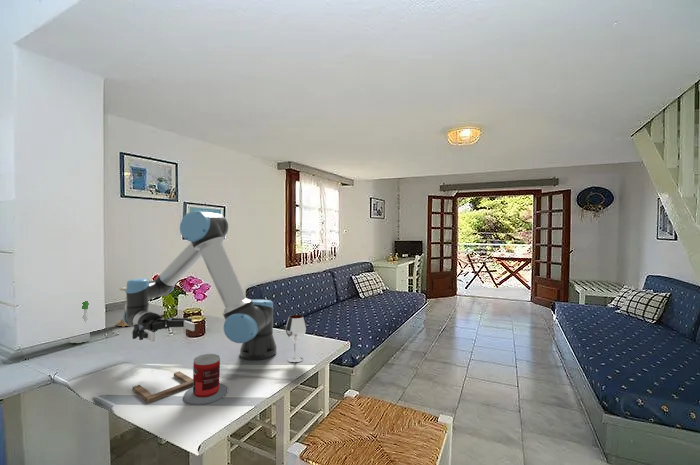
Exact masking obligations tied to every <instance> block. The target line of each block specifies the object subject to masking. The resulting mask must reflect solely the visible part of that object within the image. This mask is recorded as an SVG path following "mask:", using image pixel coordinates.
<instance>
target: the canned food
mask: <svg viewBox="0 0 700 465" xmlns="http://www.w3.org/2000/svg"><path fill="white" fill-rule="evenodd" d="M192 364H193V367H192V368H193V370H192V371H193V374H192V375H193V376H192V379H193V386H192V387H193V393H194V395H195V396H197V397H209V396H212V395H214V394H216V393H217V392H218V390H219V383H220V374H221V373H220V372H221V371H220V370H221V369H220V368H221V366H220V365H221V358H220V355H219V354H216V353H205V354H200V355H198V356H196V357H195V358H194V359H193V363H192Z"/></svg>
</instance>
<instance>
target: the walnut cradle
mask: <svg viewBox="0 0 700 465" xmlns="http://www.w3.org/2000/svg"><path fill="white" fill-rule="evenodd" d="M173 377H174V378H175V379H176V380H178V381H180V382H182V383H180V384H178V385H175V386H171V387H169V388H167V389H164V390H161V391H158V392H156V393H153V394H152V393H151V392H150V391H149V390H147V389H146V388H145V387H143V386H142V385H140V384H138V385H134V386H132V392H134V394H136V395H137V396H138V397H139V398H141V399H142V400H144V401H145V402H146V403H148V404H150V403H153V402H154V401H158V400H160V399H163V398H166V397H168V396H171V395H173V394H176V393H178V392H182V391H184V390H186V389H187V390H188V389H190V388H192V387H193V377H190V376H188V375H187V374H185V373H183V372H181V371H176V372H173Z"/></svg>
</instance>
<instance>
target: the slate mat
mask: <svg viewBox="0 0 700 465" xmlns="http://www.w3.org/2000/svg"><path fill="white" fill-rule="evenodd" d="M228 389H229V388H228V386H227V385H226V384H224V383H222V382H219V390H218V392H217V393H216V394H214V395H212V396H209V397H197V396H195V395H194V393H193V386H192V387H189V388H188V389H187V390H186V391H185V392H184V394H183V401H184V402H185V403H186V404H189V405H193V406H195V405H196V406H198V405H199V406H200V405H208V404H211V403H214V402H217V401H220V400H221V399H223V398H224V397H225V396H226V395H227V394H228V392H227V391H228ZM226 393H227V394H226ZM223 396H224V397H223ZM222 397H223V398H222ZM219 399H220V400H219Z"/></svg>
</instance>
